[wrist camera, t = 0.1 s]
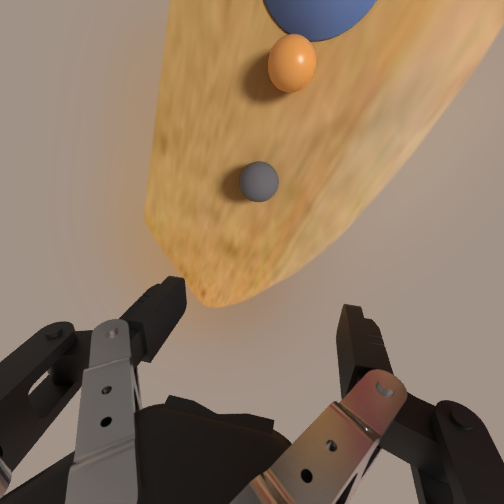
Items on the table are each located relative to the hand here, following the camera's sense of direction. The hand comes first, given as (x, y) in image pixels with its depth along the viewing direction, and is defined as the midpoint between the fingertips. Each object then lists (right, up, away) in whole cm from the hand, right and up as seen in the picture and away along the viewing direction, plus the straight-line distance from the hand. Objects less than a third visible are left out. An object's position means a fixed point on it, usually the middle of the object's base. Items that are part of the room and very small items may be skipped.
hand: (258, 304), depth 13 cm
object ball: (+4, +24, +17) cm, 30 cm away
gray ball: (+1, +12, +24) cm, 27 cm away
